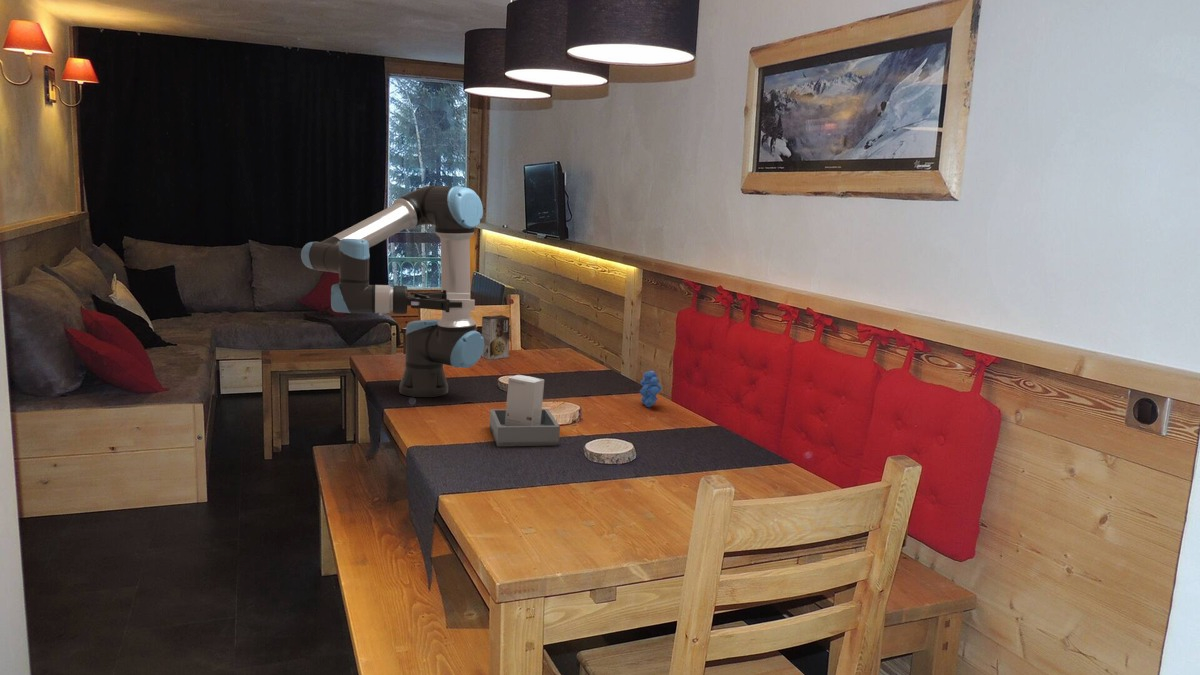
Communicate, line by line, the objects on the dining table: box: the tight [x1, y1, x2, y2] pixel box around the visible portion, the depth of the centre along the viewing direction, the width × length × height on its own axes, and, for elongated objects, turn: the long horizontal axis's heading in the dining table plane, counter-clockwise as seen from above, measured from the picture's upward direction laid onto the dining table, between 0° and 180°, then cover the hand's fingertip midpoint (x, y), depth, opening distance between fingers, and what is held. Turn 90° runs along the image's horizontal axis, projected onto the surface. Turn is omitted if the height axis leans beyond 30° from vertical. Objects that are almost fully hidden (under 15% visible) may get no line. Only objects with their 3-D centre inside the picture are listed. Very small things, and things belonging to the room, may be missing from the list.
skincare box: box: [505, 374, 545, 426], centre depth 222 cm, size 8×6×15 cm
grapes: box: [639, 370, 663, 408], centre depth 260 cm, size 12×7×12 cm, turn 18°
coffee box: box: [481, 314, 511, 360], centre depth 326 cm, size 9×6×16 cm
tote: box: [489, 408, 561, 447], centre depth 223 cm, size 18×16×5 cm
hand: (472, 301), depth 228 cm, fingers open, 13 cm apart
